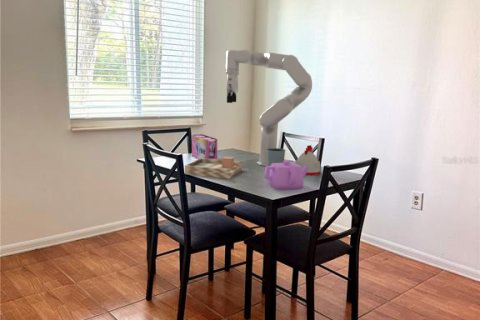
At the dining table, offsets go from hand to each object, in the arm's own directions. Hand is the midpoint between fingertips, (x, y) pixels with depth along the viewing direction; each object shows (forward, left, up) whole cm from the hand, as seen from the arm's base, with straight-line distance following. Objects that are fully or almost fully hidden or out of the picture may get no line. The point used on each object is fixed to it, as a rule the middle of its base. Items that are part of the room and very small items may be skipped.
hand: (231, 102), depth 247 cm
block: (-8, +26, -33) cm, 43 cm away
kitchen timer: (-48, +10, -36) cm, 60 cm away
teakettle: (-43, +44, -36) cm, 71 cm away
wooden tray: (-2, +31, -35) cm, 47 cm away
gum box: (+18, -2, -36) cm, 40 cm away
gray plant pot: (-31, +14, -36) cm, 49 cm away
